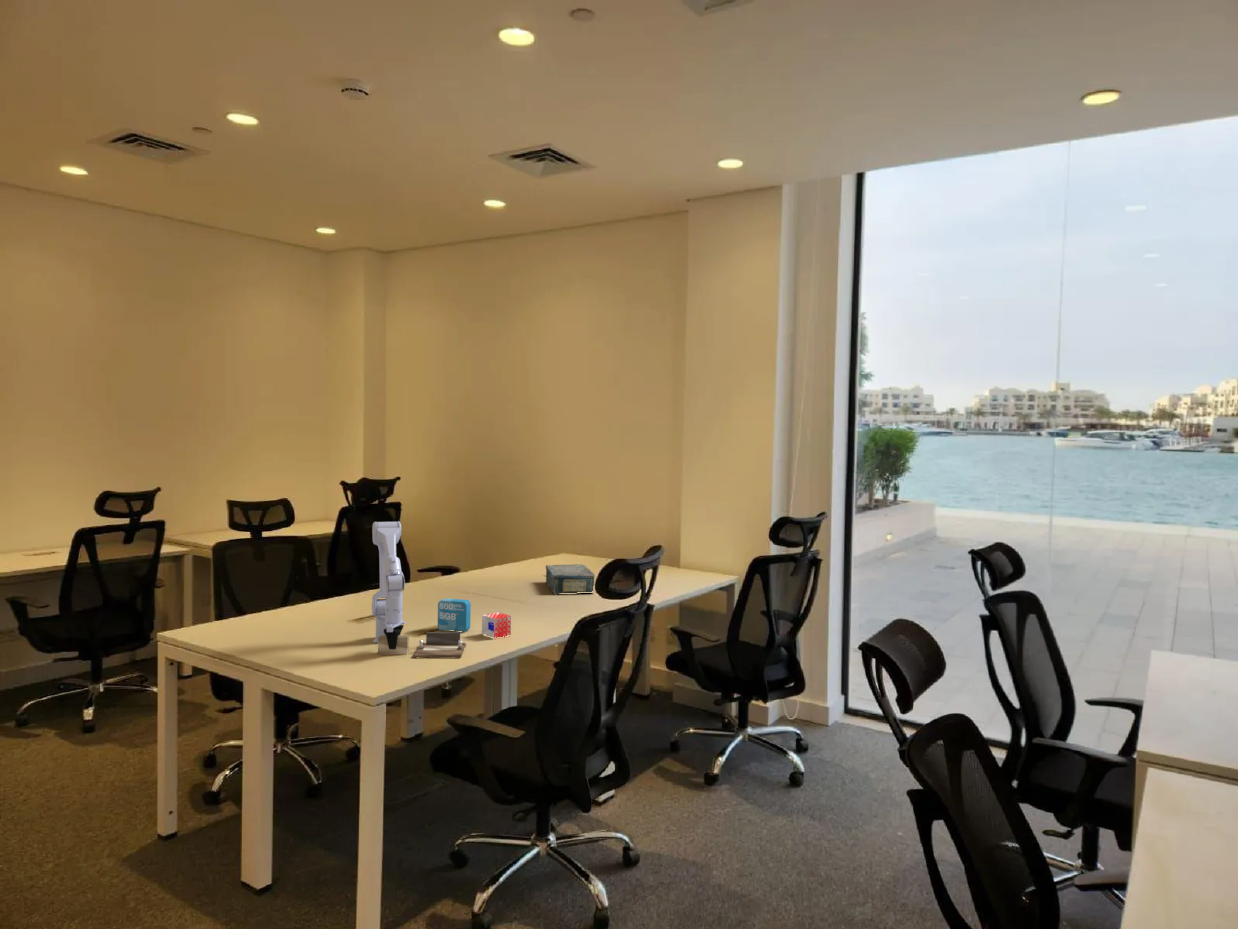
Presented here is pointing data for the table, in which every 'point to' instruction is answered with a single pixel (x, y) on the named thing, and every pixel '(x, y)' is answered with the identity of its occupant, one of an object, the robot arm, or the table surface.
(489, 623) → the puzzle cube
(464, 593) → the table surface
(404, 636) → the beige wooden block
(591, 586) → the metal box
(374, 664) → the table surface
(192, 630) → the table surface
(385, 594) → the robot arm
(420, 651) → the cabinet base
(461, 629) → the data package
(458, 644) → the hinge pins
